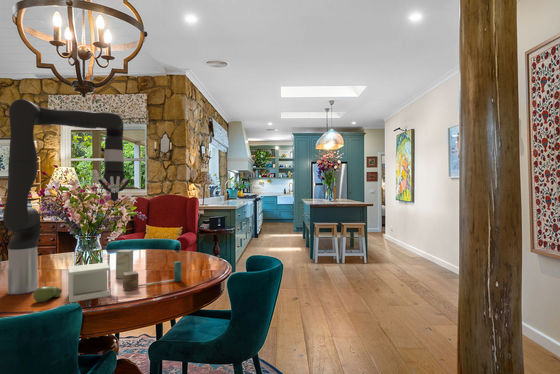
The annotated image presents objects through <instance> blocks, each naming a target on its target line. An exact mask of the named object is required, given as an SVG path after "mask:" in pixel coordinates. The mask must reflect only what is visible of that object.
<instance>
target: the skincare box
mask: <svg viewBox="0 0 560 374" xmlns="http://www.w3.org/2000/svg"><path fill="white" fill-rule="evenodd" d="M115 252H116V253H115V279H123V273H125V272H132V271H134V249H120V250H116V251H115Z"/></svg>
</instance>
